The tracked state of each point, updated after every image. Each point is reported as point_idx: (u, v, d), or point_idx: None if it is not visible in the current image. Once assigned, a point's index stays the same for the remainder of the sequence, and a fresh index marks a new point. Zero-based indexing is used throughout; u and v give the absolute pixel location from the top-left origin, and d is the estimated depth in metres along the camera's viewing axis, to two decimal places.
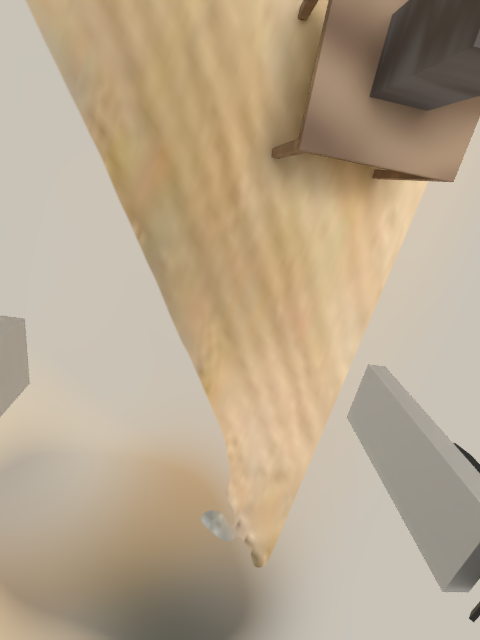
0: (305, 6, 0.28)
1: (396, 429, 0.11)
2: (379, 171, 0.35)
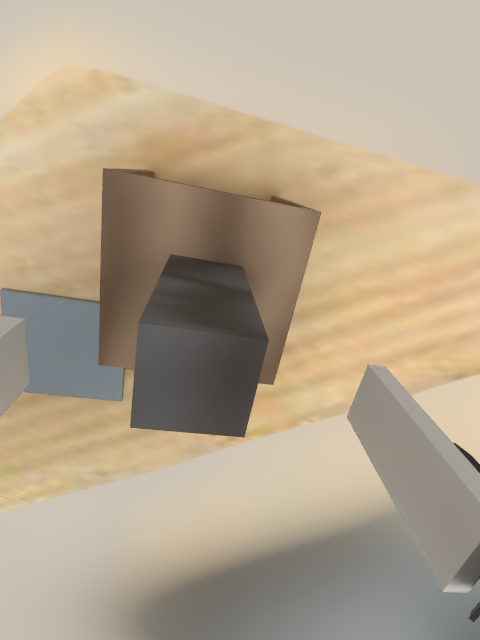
0: None
1: (396, 429, 0.11)
2: None
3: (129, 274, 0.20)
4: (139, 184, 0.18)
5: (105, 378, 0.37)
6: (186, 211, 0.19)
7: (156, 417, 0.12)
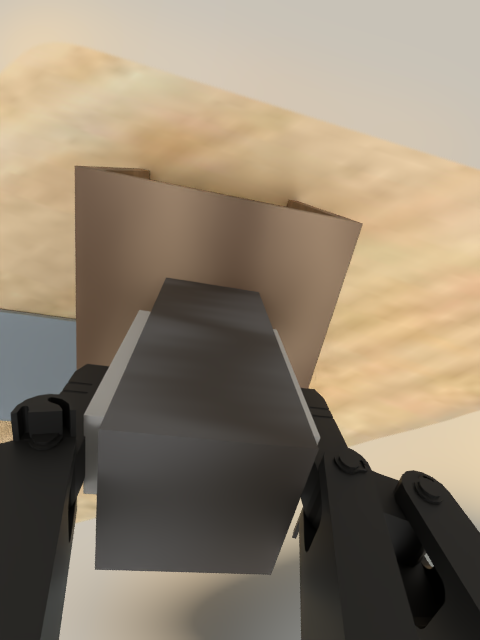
0: None
1: None
2: None
3: (113, 302, 0.16)
4: (123, 187, 0.14)
5: None
6: (186, 223, 0.14)
7: (135, 555, 0.08)
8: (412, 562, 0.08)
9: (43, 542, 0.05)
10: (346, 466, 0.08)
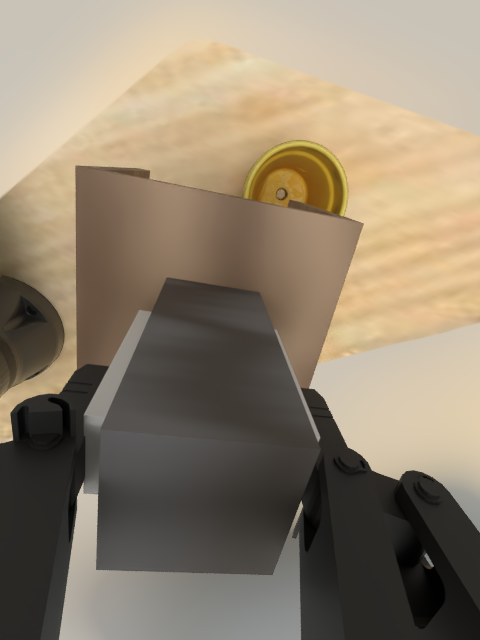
0: None
1: None
2: None
3: (114, 302, 0.16)
4: (124, 186, 0.14)
5: None
6: (187, 222, 0.14)
7: (137, 556, 0.08)
8: (412, 562, 0.08)
9: (43, 542, 0.05)
10: (346, 466, 0.08)
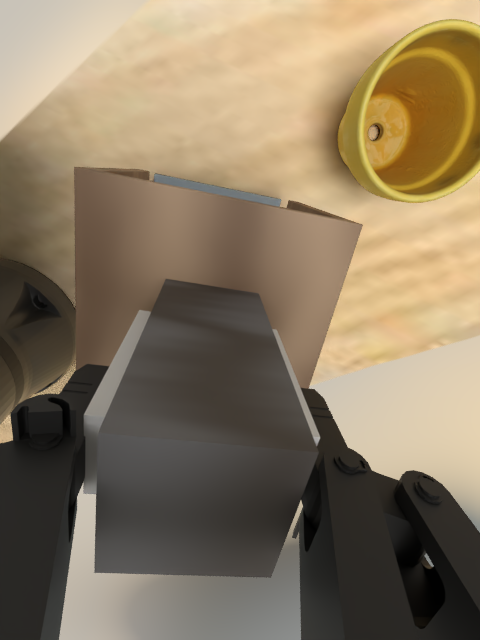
0: None
1: None
2: None
3: (113, 304, 0.16)
4: (123, 188, 0.14)
5: None
6: (186, 224, 0.14)
7: (135, 558, 0.08)
8: (412, 562, 0.08)
9: (43, 542, 0.05)
10: (346, 466, 0.08)
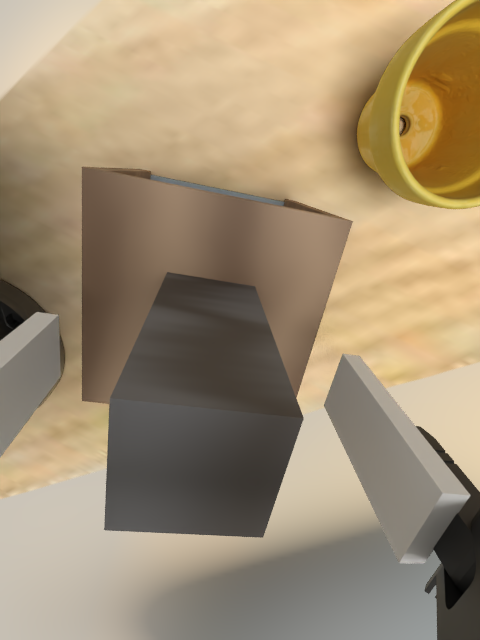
0: None
1: (364, 413, 0.11)
2: None
3: (117, 296, 0.17)
4: (127, 186, 0.15)
5: None
6: (186, 220, 0.15)
7: (140, 517, 0.09)
8: None
9: None
10: None
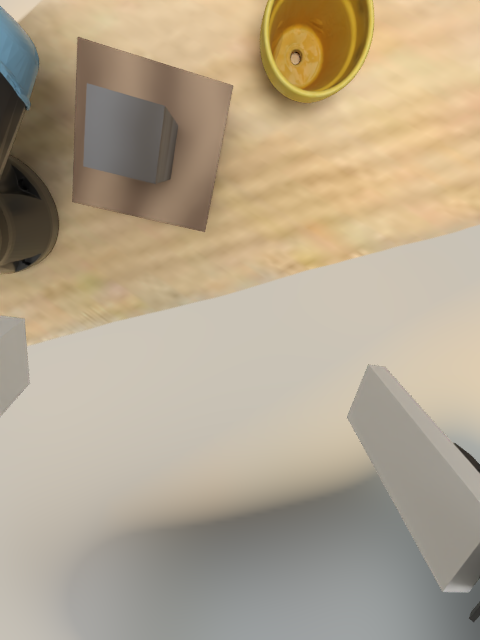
0: None
1: (396, 429, 0.11)
2: None
3: None
4: (102, 51, 0.26)
5: None
6: (136, 76, 0.27)
7: (99, 159, 0.21)
8: None
9: None
10: None
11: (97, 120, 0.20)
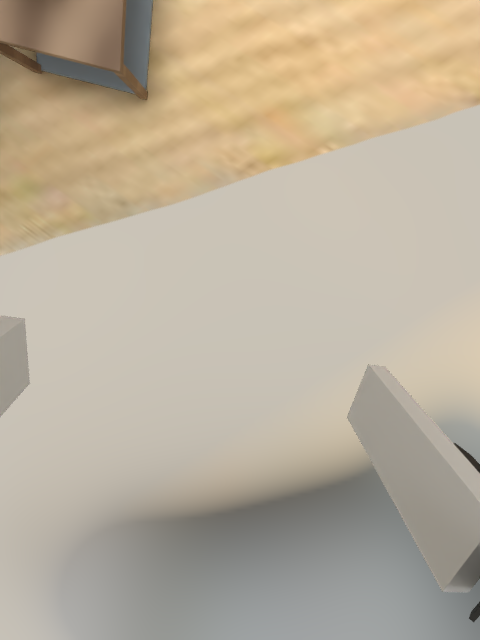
0: (30, 66, 0.35)
1: (395, 429, 0.11)
2: None
3: None
4: None
5: (130, 61, 0.37)
6: None
7: None
8: None
9: None
10: None
11: None
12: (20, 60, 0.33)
